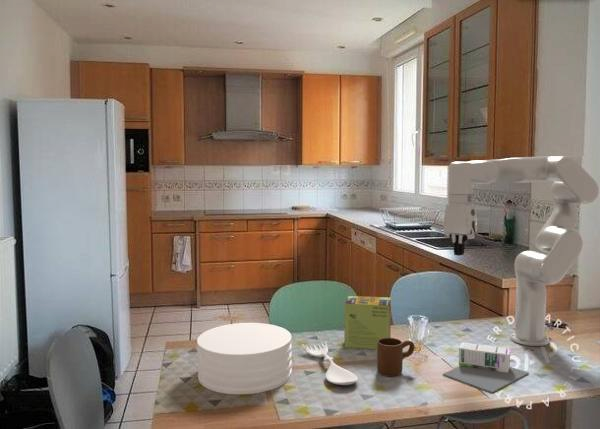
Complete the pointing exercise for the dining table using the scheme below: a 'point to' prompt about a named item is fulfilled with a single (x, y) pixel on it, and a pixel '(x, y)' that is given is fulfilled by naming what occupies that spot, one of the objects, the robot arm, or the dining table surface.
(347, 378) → the spoon
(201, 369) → the plate stack
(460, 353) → the syrup box
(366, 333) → the protein box
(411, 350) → the mug
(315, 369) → the dining table surface
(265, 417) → the dining table surface
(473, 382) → the rubber mat
